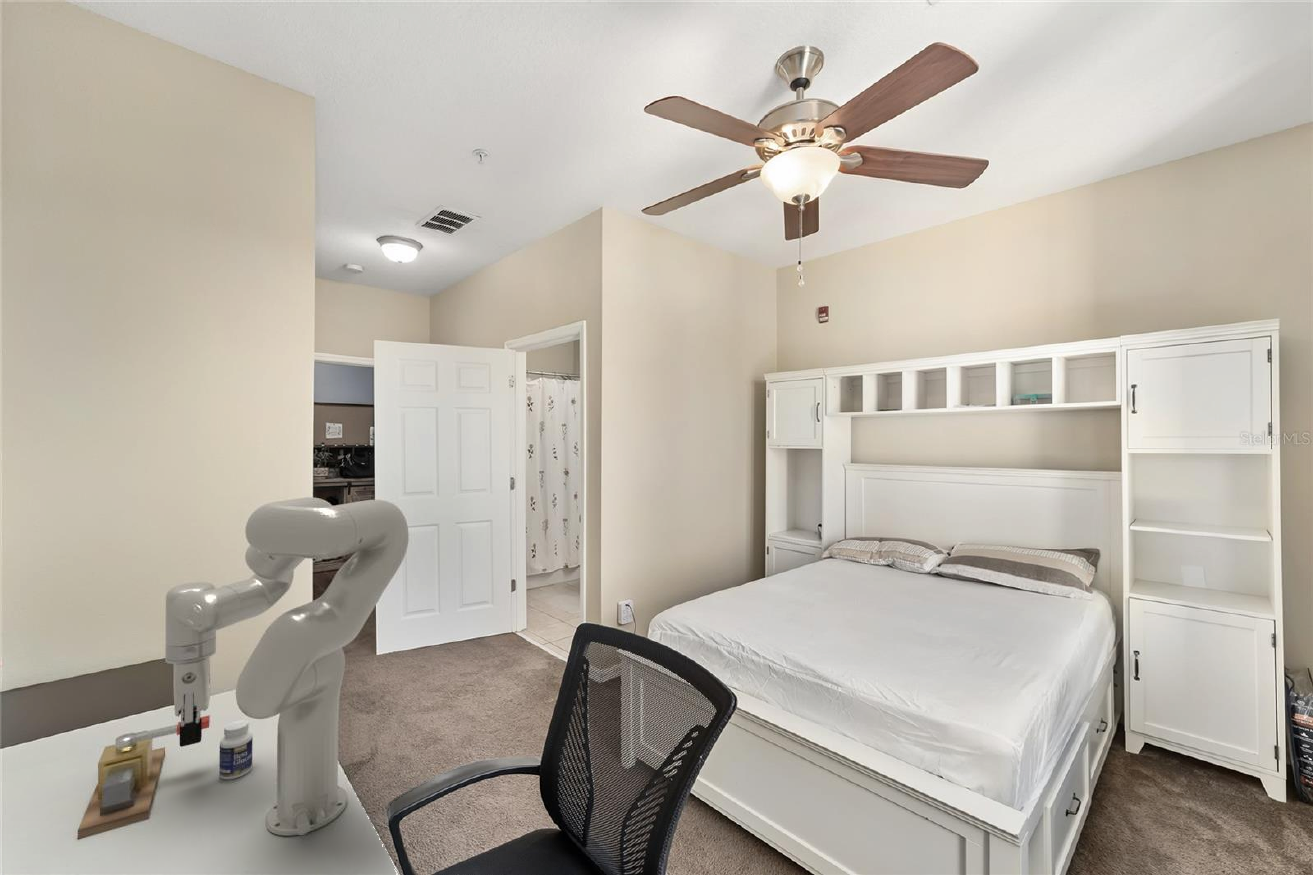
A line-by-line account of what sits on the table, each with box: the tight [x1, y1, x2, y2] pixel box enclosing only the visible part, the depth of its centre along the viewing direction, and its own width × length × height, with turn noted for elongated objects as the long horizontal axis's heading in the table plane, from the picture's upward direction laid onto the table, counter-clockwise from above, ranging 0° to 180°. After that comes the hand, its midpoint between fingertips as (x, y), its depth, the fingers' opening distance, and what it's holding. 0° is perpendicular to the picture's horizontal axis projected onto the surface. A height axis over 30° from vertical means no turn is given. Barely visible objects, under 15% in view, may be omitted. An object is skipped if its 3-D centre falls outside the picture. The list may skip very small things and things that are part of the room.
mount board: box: [77, 746, 166, 840], centre depth 108 cm, size 24×9×2 cm, turn 36°
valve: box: [97, 730, 153, 816], centre depth 108 cm, size 20×7×7 cm, turn 36°
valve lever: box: [115, 714, 211, 752], centre depth 111 cm, size 14×3×2 cm, turn 126°
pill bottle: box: [218, 719, 254, 780], centre depth 115 cm, size 5×5×10 cm
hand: (190, 742), depth 109 cm, fingers closed
